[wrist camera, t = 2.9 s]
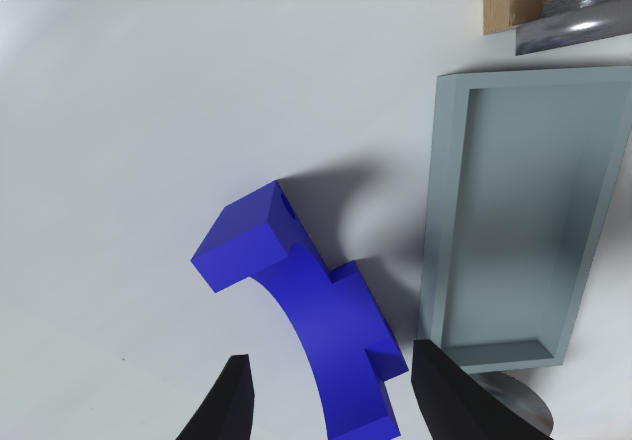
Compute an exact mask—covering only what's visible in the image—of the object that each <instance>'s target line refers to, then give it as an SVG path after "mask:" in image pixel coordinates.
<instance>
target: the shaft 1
mask: <svg viewBox="0 0 632 440" xmlns="http://www.w3.org/2000/svg"><path fill="white" fill-rule="evenodd" d="M468 375H469V376H470V377H471V378H472V379H474V380H475V381H476V382H477V383H478V384H479V385H480V386H482V387H483V388H484V389H485V390H486V391H487V392H489V393H490V394H491V395H492V396H494V397H495V398H496V399H497V400H499V401H500V402H501V403H502V404H504V405H505V406H506V407H508V408H509V409H510V410H512V411H513V412H514V413H516V414H517V415H518V416H520V417H521V418H523V419H524V420H525V421H527V422H528V423H530V424H531V425H532V426H534V427H535V428H537V429H538V430H540V431H541V432H543V433H544V434H546V435H547V436H550V434H551V432H552V430H553V424H554V423H553V418H552V414H551V412H550V410H549V409H548V407H547V405H546V404H545V403H544V401H543V400H542V399H541V398H540V397H539V396H538V395H537V394H536V393H535V392H534V391H533V390H531V389H530V388H529V387H528V386H526V385H525V384H523V383H522V382H520V381H518V380H517V379H515V378H513V377H511V376H509V375H506V374H504V373H501V371H493V372H482V373H471V374H468Z"/></svg>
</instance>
